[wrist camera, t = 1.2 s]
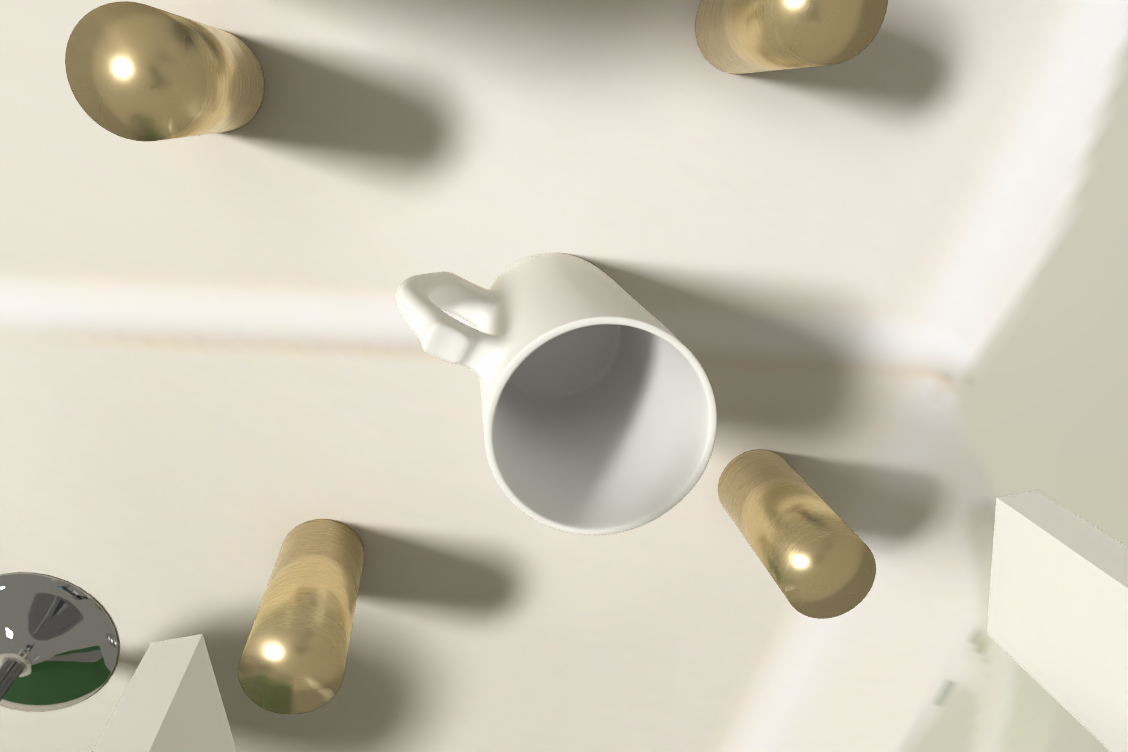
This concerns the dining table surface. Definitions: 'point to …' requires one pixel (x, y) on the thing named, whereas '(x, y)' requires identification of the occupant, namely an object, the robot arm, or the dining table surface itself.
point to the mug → (572, 390)
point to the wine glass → (51, 643)
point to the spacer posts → (331, 549)
